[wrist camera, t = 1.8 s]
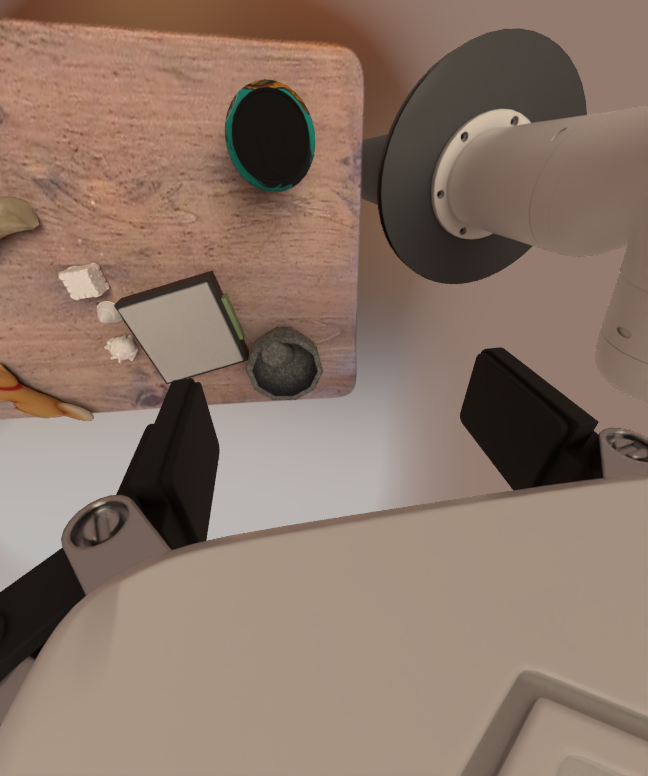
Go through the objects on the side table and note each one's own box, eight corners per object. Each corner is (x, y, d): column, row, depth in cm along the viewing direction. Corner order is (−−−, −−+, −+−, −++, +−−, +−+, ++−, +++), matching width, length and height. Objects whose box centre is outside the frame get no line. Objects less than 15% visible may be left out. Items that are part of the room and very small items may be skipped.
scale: (216, 269, 40) (213, 276, 37) (252, 350, 47) (251, 361, 44) (121, 298, 40) (111, 307, 38) (171, 374, 47) (165, 386, 45)
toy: (-43, 371, 43) (-44, 343, 41) (97, 419, 49) (103, 397, 47) (-66, 386, 41) (-68, 356, 38) (85, 435, 46) (91, 412, 44)
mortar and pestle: (321, 365, 50) (334, 415, 40) (263, 381, 50) (262, 433, 40) (303, 297, 43) (314, 336, 34) (236, 314, 43) (227, 359, 34)
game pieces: (70, 266, 37) (55, 273, 35) (99, 261, 37) (86, 268, 35) (120, 355, 44) (111, 367, 42) (144, 351, 44) (137, 362, 42)
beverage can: (287, 87, 31) (297, 54, 22) (313, 169, 35) (330, 172, 26) (222, 118, 32) (202, 99, 22) (254, 195, 36) (250, 208, 26)
